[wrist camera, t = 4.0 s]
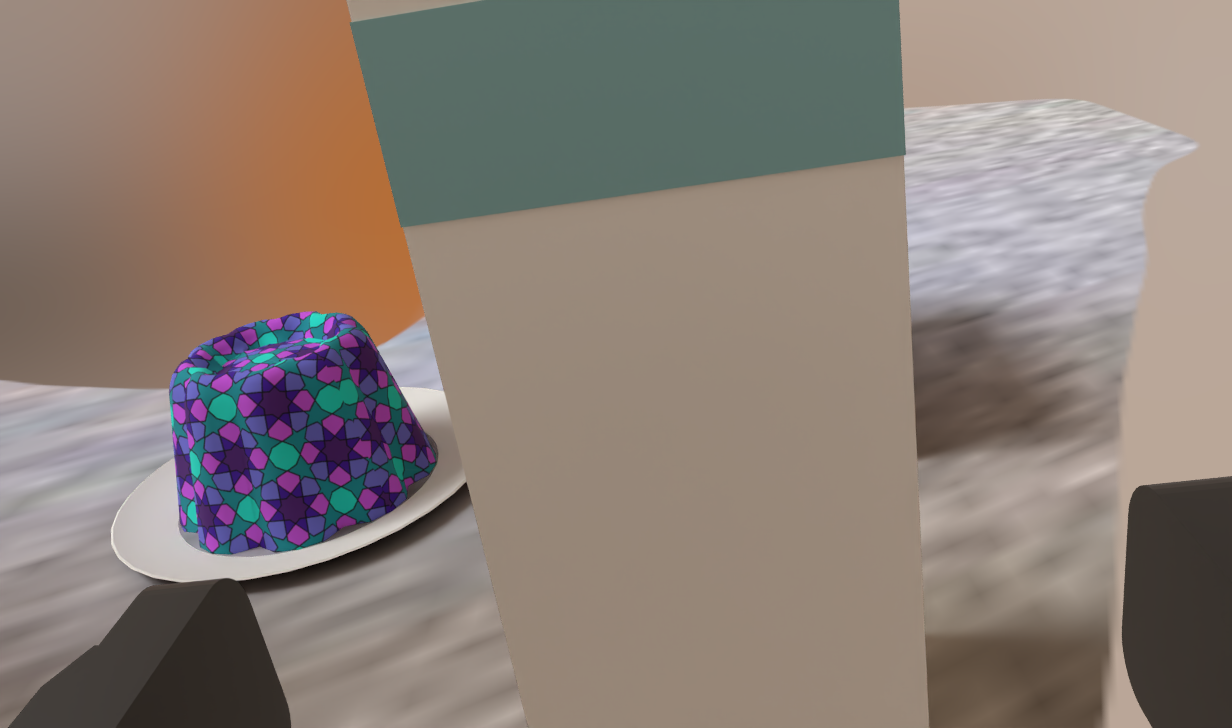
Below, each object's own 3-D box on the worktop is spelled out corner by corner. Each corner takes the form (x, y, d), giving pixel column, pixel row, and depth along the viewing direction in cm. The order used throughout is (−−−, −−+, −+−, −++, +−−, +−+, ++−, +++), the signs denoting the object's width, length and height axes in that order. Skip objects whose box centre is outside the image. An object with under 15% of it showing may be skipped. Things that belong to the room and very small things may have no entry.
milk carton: (570, 902, 17) (304, -156, 11) (594, 659, 22) (429, -130, 16) (937, 876, 16) (886, -265, 10) (868, 634, 22) (809, -200, 15)
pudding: (255, 658, 25) (186, 475, 23) (53, 539, 32) (-13, 393, 30) (571, 440, 33) (541, 290, 31) (350, 385, 41) (314, 262, 38)
